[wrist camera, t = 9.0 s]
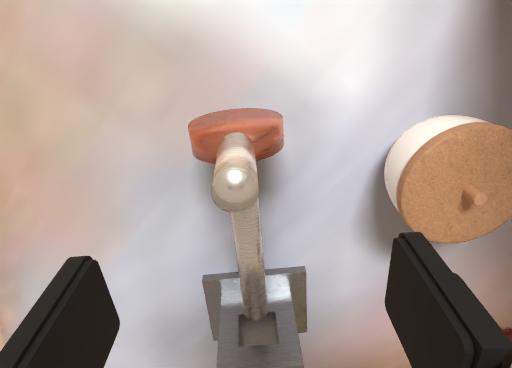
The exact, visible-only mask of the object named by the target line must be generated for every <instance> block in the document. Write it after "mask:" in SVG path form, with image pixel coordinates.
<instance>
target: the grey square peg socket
mask: <svg viewBox="0 0 512 368" xmlns="http://www.w3.org/2000/svg"><path fill="white" fill-rule="evenodd" d="M264 271H265V283H266V295H267V307H268V312H267V315H266V316H265V317H264V318H262V319H260V320H250V319H248V318H247V317H246V316H245V315H244V309H243V302H242V294H241V286H240V278H239V272H234V273H223V274H212V275H203V280H202V282H203V287H204V293H205V298H206V303H207V308H208V313H209V318H210V323H211V329H212V334H213V339H214V340H219V341H218V356H217V368H304V365H303V359H302V354H301V348H300V343H299V337H298V333H304V332H307V308H306V270H305V266H302V267H290V268H279V269H268V270H264Z"/></svg>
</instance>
